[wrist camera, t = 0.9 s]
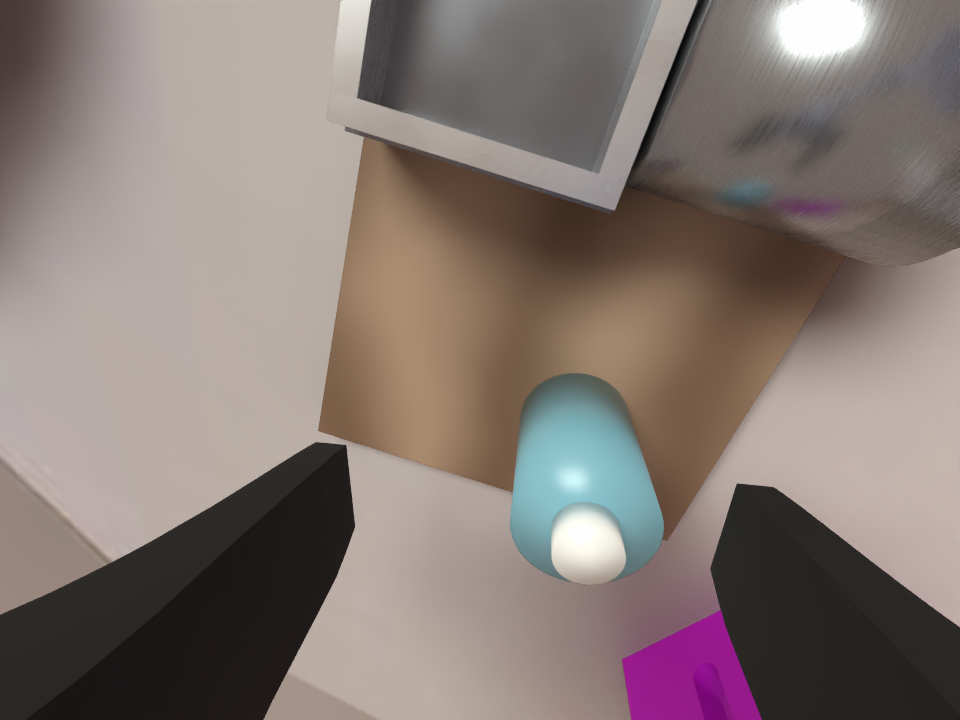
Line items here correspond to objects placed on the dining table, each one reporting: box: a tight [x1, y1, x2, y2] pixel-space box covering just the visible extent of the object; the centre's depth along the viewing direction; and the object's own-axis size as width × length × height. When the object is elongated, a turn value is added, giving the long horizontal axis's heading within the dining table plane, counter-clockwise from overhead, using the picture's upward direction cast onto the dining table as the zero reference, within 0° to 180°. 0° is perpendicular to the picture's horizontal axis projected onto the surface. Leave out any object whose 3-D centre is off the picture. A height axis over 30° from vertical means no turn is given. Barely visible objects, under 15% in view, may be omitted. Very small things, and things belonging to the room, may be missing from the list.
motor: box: [326, 0, 960, 267], centre depth 10 cm, size 14×7×6 cm, turn 74°
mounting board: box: [318, 137, 846, 541], centre depth 15 cm, size 15×20×1 cm
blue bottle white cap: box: [510, 373, 664, 585], centre depth 14 cm, size 4×4×6 cm
